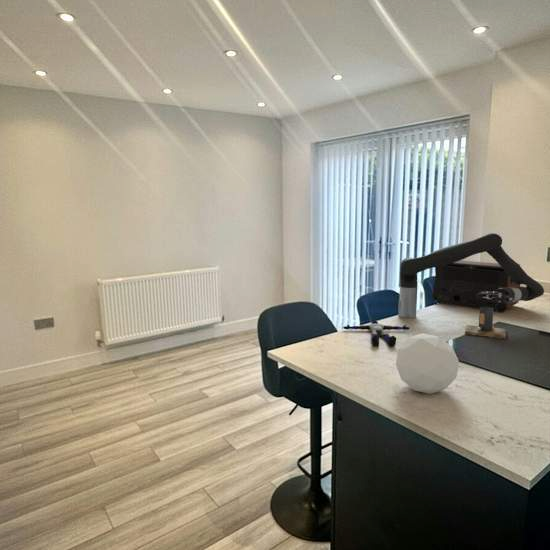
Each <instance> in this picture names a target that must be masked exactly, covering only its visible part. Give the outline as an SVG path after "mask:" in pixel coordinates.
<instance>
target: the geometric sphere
mask: <svg viewBox="0 0 550 550" xmlns="http://www.w3.org/2000/svg"><path fill="white" fill-rule="evenodd" d="M459 364H460V361H459V358H458V357H457V354H456V352H455V349H454V348H453V346H452V345H451V344H450V343H448V342H447V341H445V340H443V338H440V336H436V335H432V334H428V333H424V332H422V333H419V334H416V335H413V336H411V337H408V338H407V339H406V340H405V341H404V342H403V343H402V344H401V345H400V346H399V347H398V348H397V352H396V362H395V366H396V369H397V371H398V374H399V378H400V380H401V381H403V383H405V384H406V385H407V386H408V387H409V388H411V389H412V390H413V391H416V392H419V393H425V394H428V395H432V394H434V393H438V392H441V391H444V390H446V389H448V388H449V386H450V385H451V384H452V383H453V382H454V381H455V380H456V379H457V377H458V370H459Z"/></svg>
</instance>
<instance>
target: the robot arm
mask: <svg viewBox="0 0 550 550" xmlns="http://www.w3.org/2000/svg"><path fill="white" fill-rule="evenodd" d="M502 244H503V238H502V236H501V235H500V234H498V233H492V232H491V233H487V234H484V235H483V236H480V237H478V238H475V239H473V240H469V241H464V242H459V243H455V244H451V245H448V246H445V247H442V248H439V249H437V250H434V251H432V252H430V253H429V254H426V255H424V256H418V257H414V258H413V257H405V258H403V259H402V260H401V262H400V266H399V270H400V271H399V299H398V313H397V314H398V315H397V317H399V318H404V319H414V318H415V319H416V318H417V304H418V303H417V301H418V274H419V273H421V272H423V271H427V270H429V269H432V268H434V269H435V267H438V266H443V265H447V264H450V263H454V262H457V261H460V260H461V261H463V260H465V259H467V258H469V257H471V256H474V255H478V254H482V253H487V254H488V255H489V256H491V258H492V259H493V260H494V261H495V262H496V263H498V264H499V265H500V266H501V267H502V268H503V270H504V271H505V272H506V273H507V275H508V276H509V277H510V278H511V279H512V281H513V282H514V283H515V284H516V285H520V286H519V287H506V288H499V289H498V290H497V291H496V292H490V291H482V292H479V294H476V298H487V299H491V302H500V303H510V302H515V301H519V302H520V301H521V302H522V301H523V302H529V301H530V302H531V301H532V300H534V299H537V298H540V297H541V296H544V293H545V289H544V287H543V285H542V284H541V283H539V282H538V281H536V280H535V279H534V278H532V277H531V276H530V275H528V273H527V272H526V271H525V270H524V269H523V267H521V265H520V264H519V263H518V262H516V261H515V260H514V259H513V258H512V257H510V255H509V254H508V253H507V252H506V251H505V250H504V248H503V246H502ZM518 264H519V265H520V266H519V265H518ZM521 285H525V286H521ZM489 295H490V298H489V297H488V296H489Z"/></svg>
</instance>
